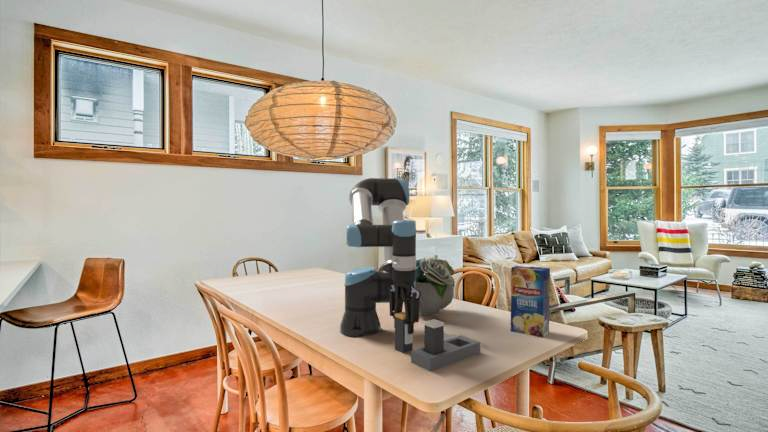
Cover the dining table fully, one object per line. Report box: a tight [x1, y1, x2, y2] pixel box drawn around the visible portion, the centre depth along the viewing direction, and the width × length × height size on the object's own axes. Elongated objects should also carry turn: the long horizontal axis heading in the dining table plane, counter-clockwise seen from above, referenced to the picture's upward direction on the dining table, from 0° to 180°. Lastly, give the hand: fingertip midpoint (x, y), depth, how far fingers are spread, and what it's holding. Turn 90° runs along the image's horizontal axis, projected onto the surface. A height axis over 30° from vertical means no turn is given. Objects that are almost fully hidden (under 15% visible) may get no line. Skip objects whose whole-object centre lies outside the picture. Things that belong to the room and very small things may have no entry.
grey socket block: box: [410, 335, 481, 372], centre depth 124 cm, size 8×22×4 cm, turn 128°
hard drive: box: [444, 331, 459, 341], centre depth 144 cm, size 2×8×12 cm
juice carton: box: [510, 264, 551, 338], centre depth 151 cm, size 12×8×24 cm, turn 53°
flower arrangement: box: [414, 257, 456, 316], centre depth 176 cm, size 25×25×24 cm
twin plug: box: [423, 318, 445, 355], centre depth 120 cm, size 4×4×12 cm
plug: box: [394, 311, 414, 354], centre depth 130 cm, size 4×4×12 cm
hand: (403, 341), depth 130 cm, fingers closed on plug, 4 cm apart
